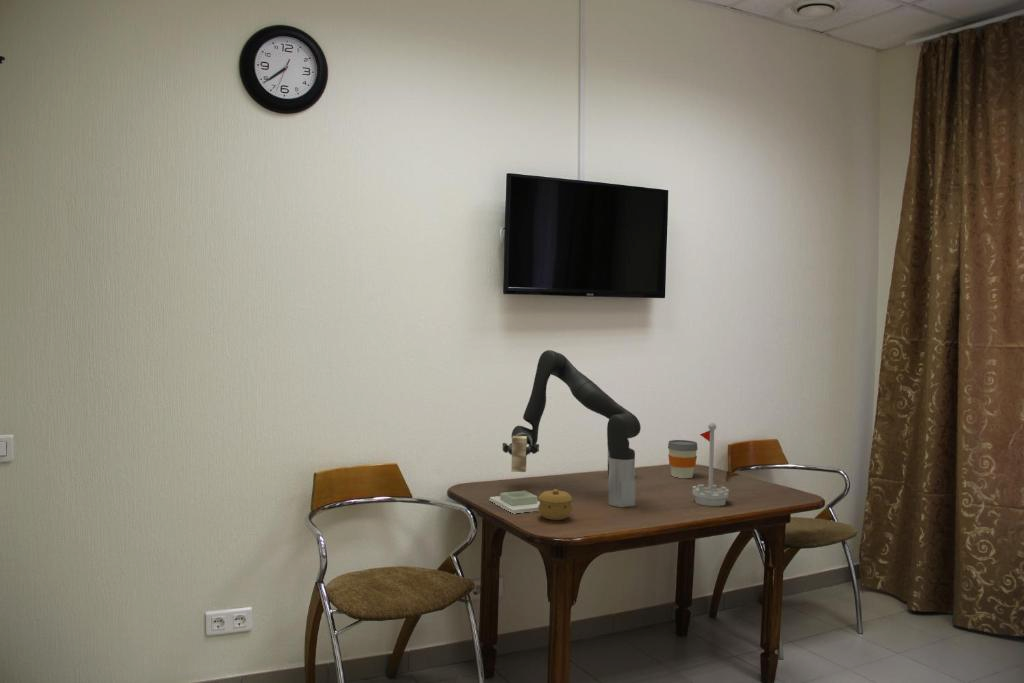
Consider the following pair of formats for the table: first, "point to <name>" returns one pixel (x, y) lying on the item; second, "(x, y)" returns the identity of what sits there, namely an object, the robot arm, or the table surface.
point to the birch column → (519, 453)
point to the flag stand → (710, 479)
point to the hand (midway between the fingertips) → (518, 452)
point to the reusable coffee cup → (682, 457)
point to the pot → (555, 504)
